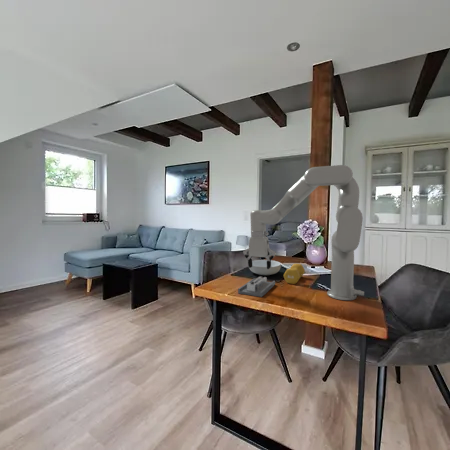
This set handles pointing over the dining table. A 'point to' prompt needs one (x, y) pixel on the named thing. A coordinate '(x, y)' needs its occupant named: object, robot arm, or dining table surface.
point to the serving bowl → (265, 267)
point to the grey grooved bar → (256, 284)
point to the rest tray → (259, 292)
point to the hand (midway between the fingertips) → (259, 267)
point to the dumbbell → (294, 273)
